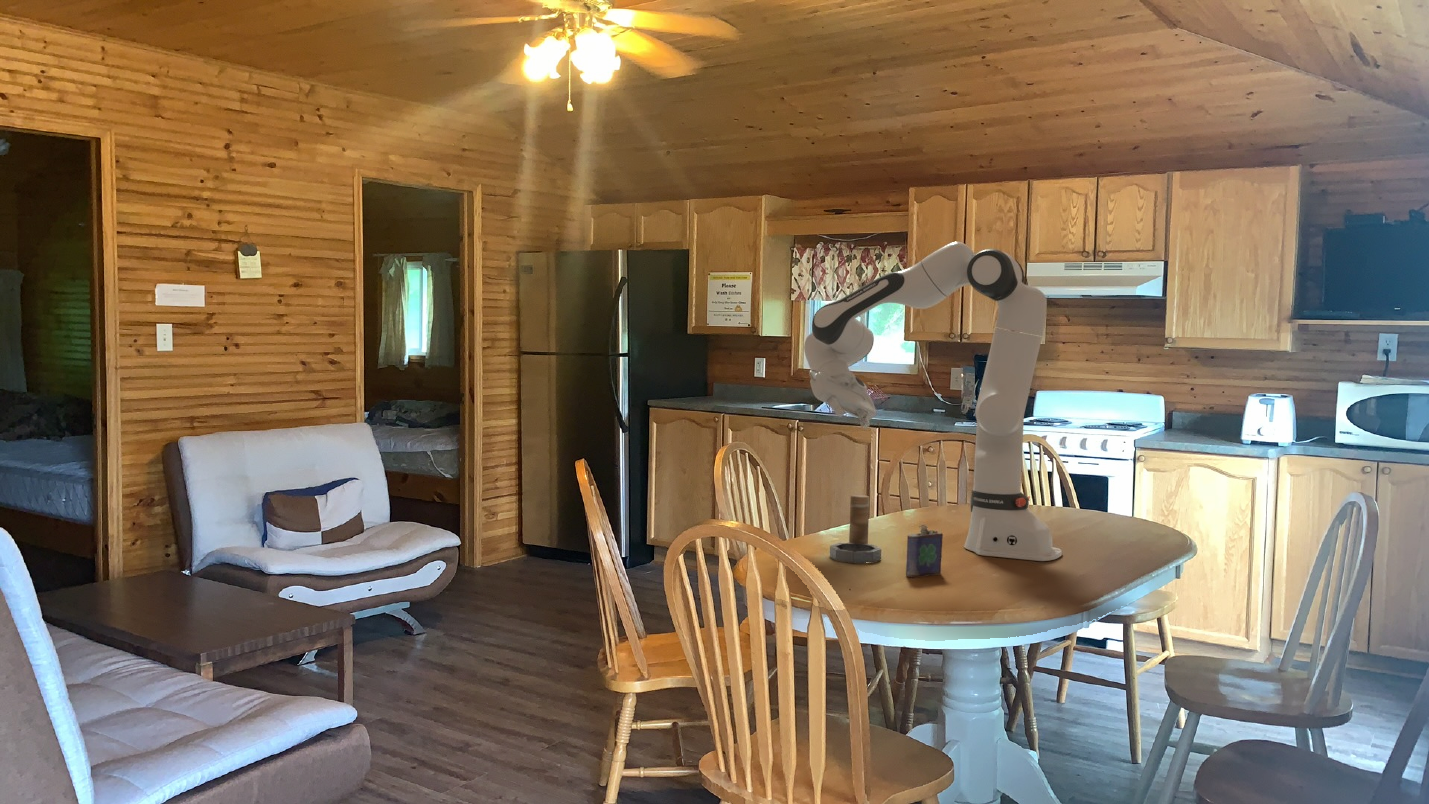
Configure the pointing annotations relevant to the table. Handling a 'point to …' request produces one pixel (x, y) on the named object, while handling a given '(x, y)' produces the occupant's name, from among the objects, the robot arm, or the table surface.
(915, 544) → the flask
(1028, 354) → the robot arm
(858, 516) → the brown wooden cylinder
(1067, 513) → the table surface
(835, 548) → the ring
